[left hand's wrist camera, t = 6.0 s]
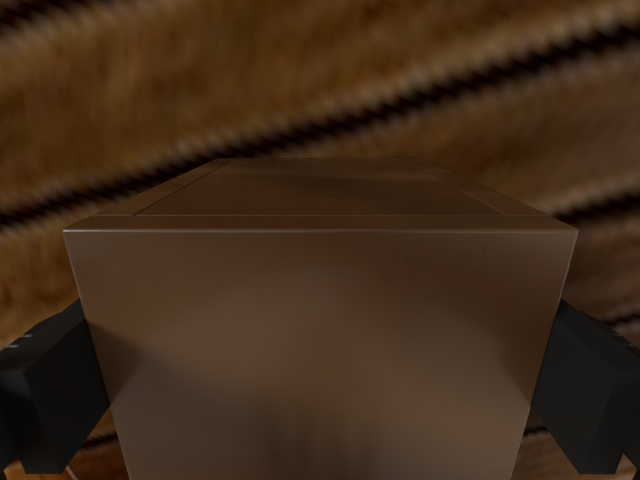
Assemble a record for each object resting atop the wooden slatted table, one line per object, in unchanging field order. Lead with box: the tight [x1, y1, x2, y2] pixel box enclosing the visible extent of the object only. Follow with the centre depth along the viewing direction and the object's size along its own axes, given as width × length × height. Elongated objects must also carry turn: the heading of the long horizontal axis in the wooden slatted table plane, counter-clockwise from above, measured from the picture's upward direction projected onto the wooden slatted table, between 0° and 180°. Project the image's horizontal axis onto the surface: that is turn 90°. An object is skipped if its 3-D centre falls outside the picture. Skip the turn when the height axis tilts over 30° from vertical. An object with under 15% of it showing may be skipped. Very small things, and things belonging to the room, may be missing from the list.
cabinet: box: [62, 158, 579, 480], centre depth 16 cm, size 17×11×12 cm, turn 0°
